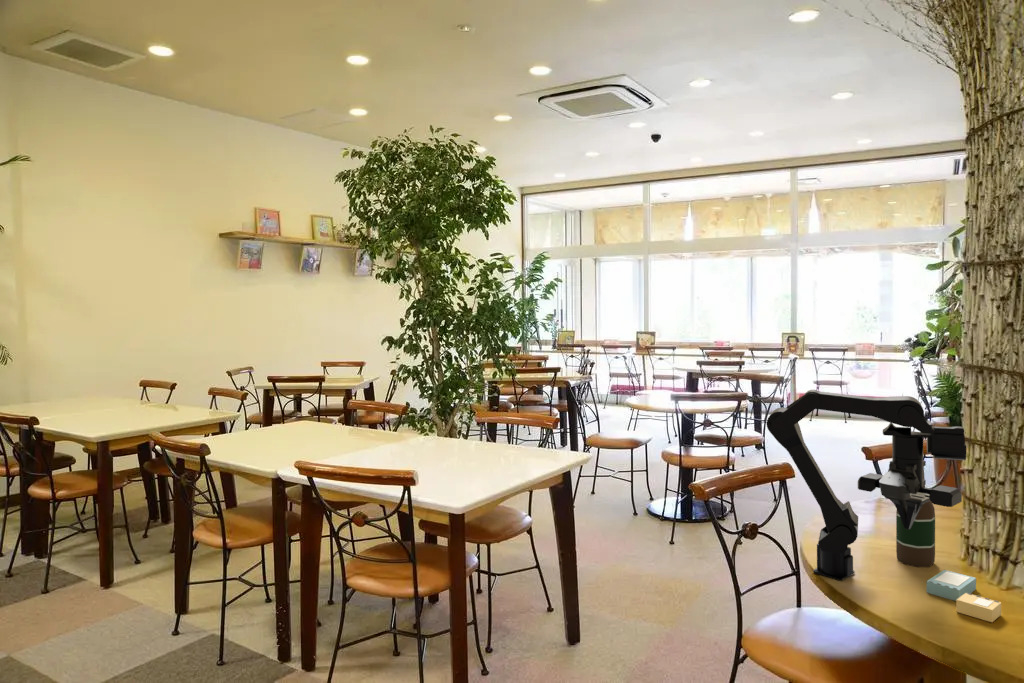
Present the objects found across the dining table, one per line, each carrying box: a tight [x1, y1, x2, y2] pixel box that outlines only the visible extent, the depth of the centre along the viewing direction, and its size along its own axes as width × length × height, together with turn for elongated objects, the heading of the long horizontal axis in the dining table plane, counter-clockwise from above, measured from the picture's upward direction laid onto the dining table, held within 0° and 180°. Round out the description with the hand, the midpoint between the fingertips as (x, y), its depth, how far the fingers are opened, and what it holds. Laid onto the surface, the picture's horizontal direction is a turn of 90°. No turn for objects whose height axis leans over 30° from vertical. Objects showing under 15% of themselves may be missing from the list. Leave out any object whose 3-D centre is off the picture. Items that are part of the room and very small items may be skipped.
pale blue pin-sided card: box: [926, 569, 977, 602], centre depth 144 cm, size 6×9×2 cm, turn 128°
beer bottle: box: [895, 466, 936, 568], centre depth 159 cm, size 8×8×24 cm
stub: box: [955, 593, 1002, 623], centre depth 133 cm, size 6×5×2 cm
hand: (907, 528), depth 147 cm, fingers closed
